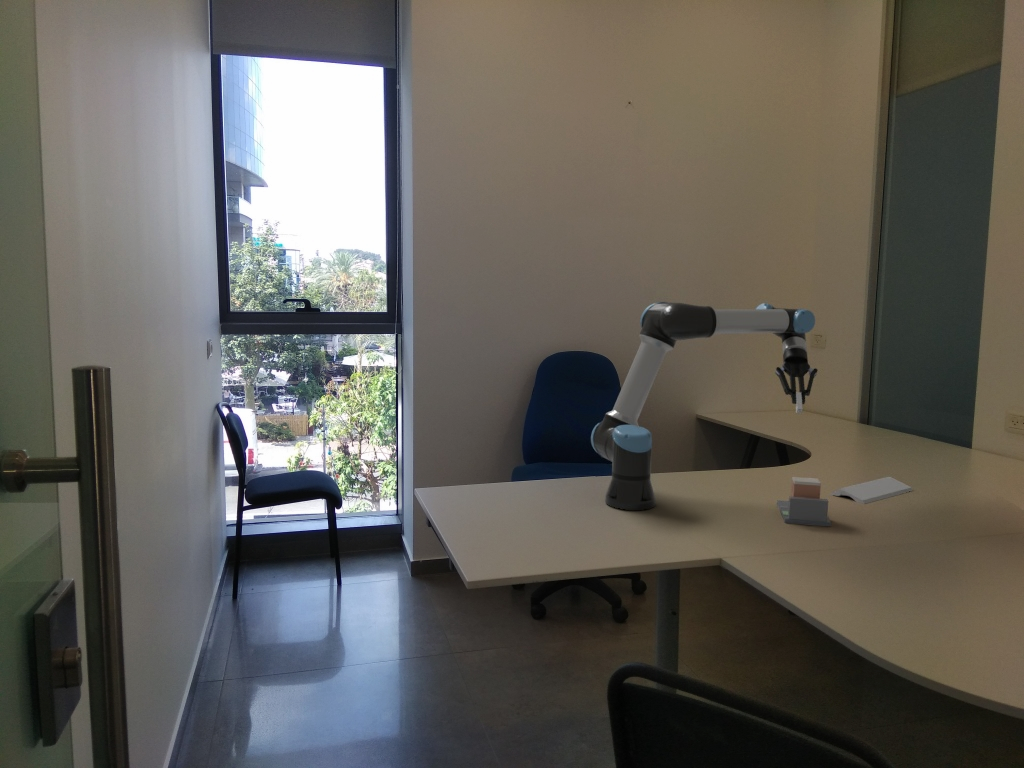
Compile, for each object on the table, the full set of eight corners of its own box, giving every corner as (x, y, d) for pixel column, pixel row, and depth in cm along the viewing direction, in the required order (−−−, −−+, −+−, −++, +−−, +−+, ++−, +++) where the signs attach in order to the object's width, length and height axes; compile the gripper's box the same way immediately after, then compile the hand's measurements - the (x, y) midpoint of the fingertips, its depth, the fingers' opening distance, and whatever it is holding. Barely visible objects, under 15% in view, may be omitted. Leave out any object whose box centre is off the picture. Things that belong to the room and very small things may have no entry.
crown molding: (864, 505, 224) (865, 494, 223) (828, 496, 234) (828, 485, 233) (912, 492, 240) (913, 481, 240) (876, 484, 250) (877, 474, 250)
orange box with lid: (792, 514, 207) (794, 481, 206) (790, 509, 212) (792, 476, 211) (818, 516, 206) (820, 482, 205) (815, 511, 211) (817, 478, 209)
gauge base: (785, 522, 204) (786, 498, 203) (776, 504, 222) (778, 481, 221) (830, 526, 201) (832, 501, 200) (818, 507, 219) (820, 484, 219)
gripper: (814, 361, 240) (819, 419, 226) (772, 360, 243) (775, 417, 229) (817, 347, 235) (823, 405, 221) (775, 345, 238) (778, 403, 224)
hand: (799, 411), depth 225 cm, fingers closed
